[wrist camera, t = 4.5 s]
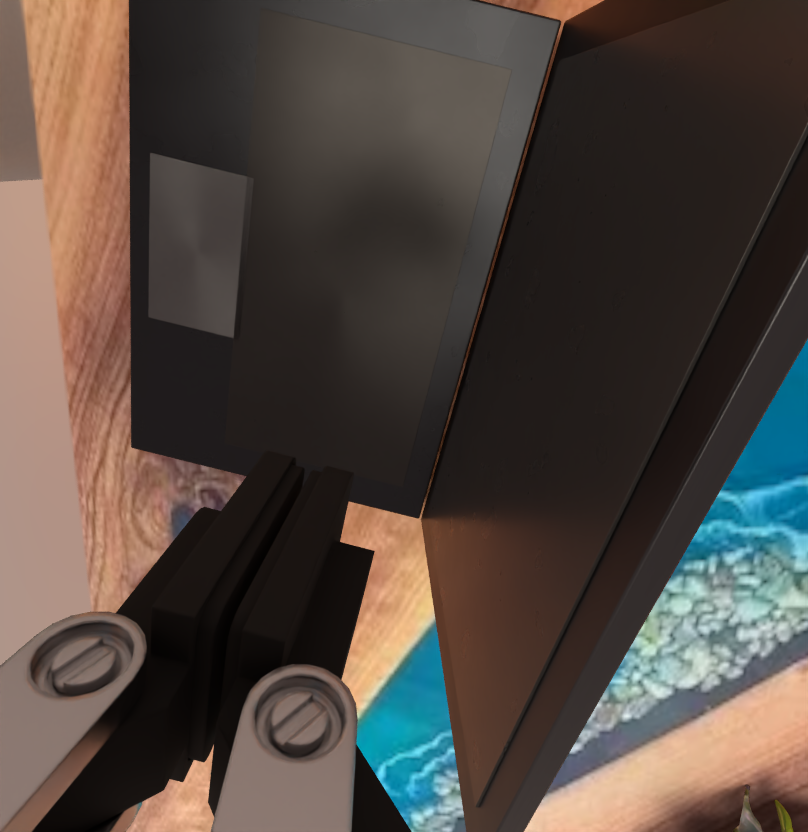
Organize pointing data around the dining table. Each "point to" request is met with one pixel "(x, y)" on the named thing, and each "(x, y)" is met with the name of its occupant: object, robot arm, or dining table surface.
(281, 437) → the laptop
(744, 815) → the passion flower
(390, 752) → the dining table surface
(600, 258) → the laptop screen
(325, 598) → the robot arm
